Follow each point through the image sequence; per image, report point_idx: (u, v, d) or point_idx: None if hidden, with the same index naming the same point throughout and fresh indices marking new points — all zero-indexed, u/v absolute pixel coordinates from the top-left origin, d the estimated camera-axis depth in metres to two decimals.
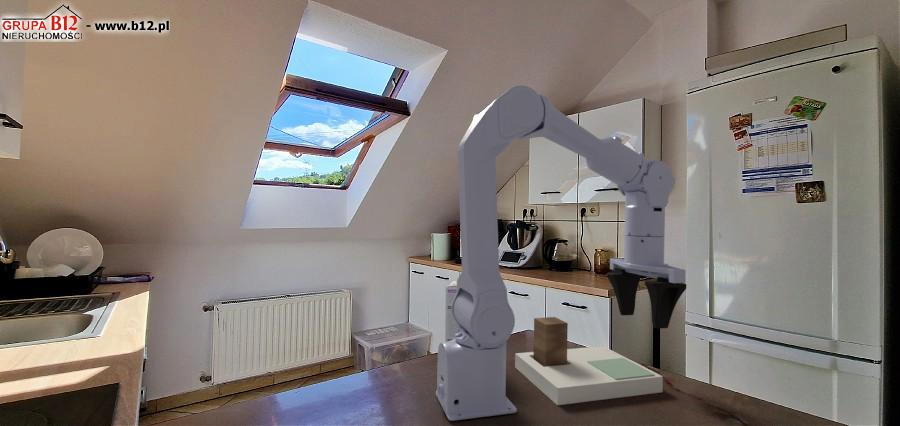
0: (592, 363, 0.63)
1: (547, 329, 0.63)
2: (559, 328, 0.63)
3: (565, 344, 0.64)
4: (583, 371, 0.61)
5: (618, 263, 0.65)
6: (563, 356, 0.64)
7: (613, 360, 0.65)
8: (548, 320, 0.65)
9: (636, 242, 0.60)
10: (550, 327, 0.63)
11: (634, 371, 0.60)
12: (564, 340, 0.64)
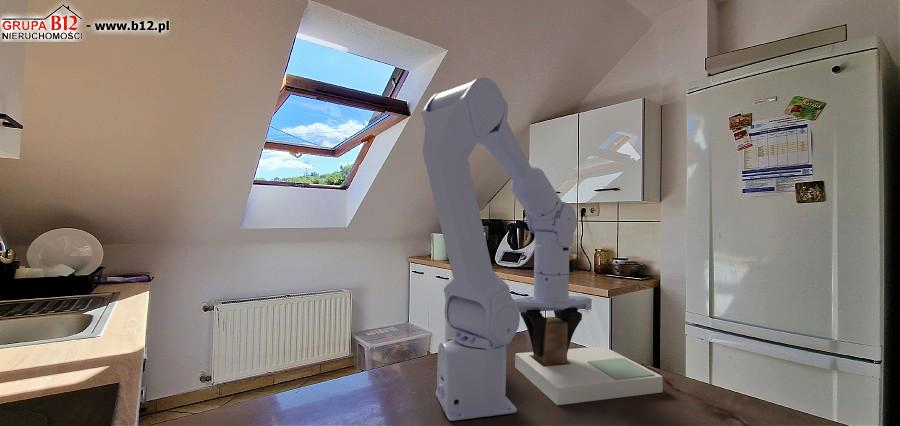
0: (592, 363, 0.63)
1: (547, 329, 0.63)
2: (559, 328, 0.63)
3: (565, 344, 0.64)
4: (583, 371, 0.61)
5: None
6: (563, 356, 0.64)
7: (613, 360, 0.65)
8: (548, 320, 0.65)
9: None
10: (550, 327, 0.63)
11: (634, 371, 0.60)
12: (564, 340, 0.64)
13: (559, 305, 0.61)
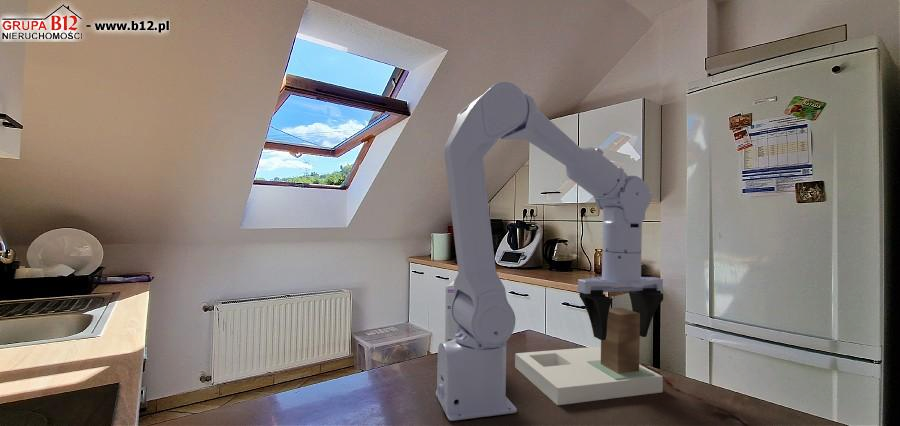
0: (592, 363, 0.63)
1: (620, 320, 0.59)
2: (631, 319, 0.60)
3: (637, 335, 0.60)
4: (583, 371, 0.61)
5: None
6: (635, 348, 0.60)
7: None
8: (618, 310, 0.62)
9: None
10: (623, 317, 0.60)
11: None
12: (636, 331, 0.60)
13: (635, 284, 0.58)
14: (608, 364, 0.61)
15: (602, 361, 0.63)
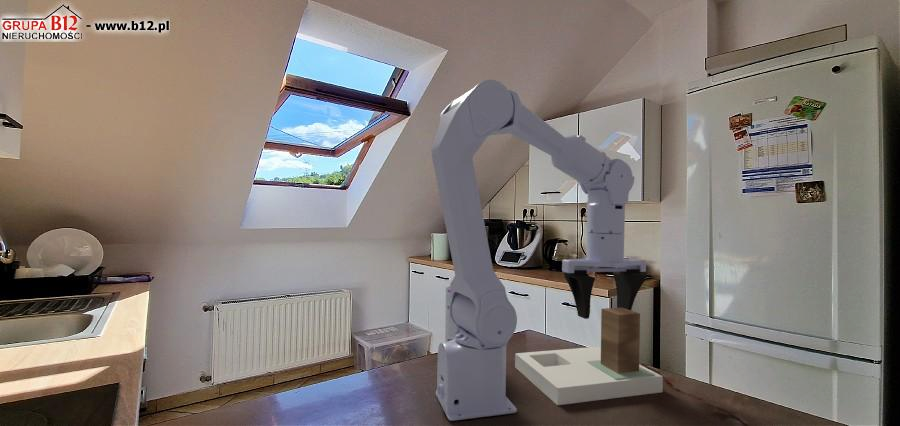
0: (592, 363, 0.63)
1: (620, 320, 0.59)
2: (631, 319, 0.60)
3: (637, 335, 0.60)
4: (583, 371, 0.61)
5: None
6: (635, 348, 0.60)
7: None
8: (618, 310, 0.62)
9: None
10: (623, 317, 0.60)
11: None
12: (636, 331, 0.60)
13: (617, 264, 0.59)
14: (608, 364, 0.61)
15: (602, 361, 0.63)
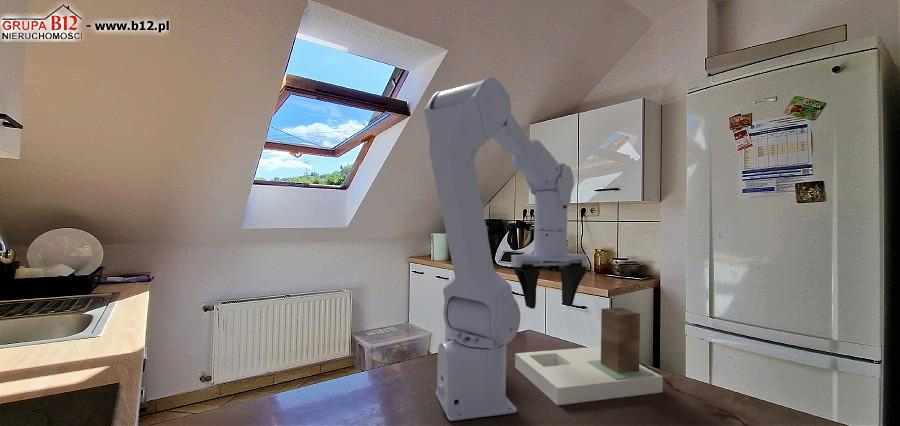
0: (592, 363, 0.63)
1: (620, 320, 0.59)
2: (631, 319, 0.60)
3: (637, 335, 0.60)
4: (583, 371, 0.61)
5: None
6: (635, 348, 0.60)
7: None
8: (618, 310, 0.62)
9: None
10: (623, 317, 0.60)
11: None
12: (636, 331, 0.60)
13: (559, 258, 0.66)
14: (608, 364, 0.61)
15: (602, 361, 0.63)
